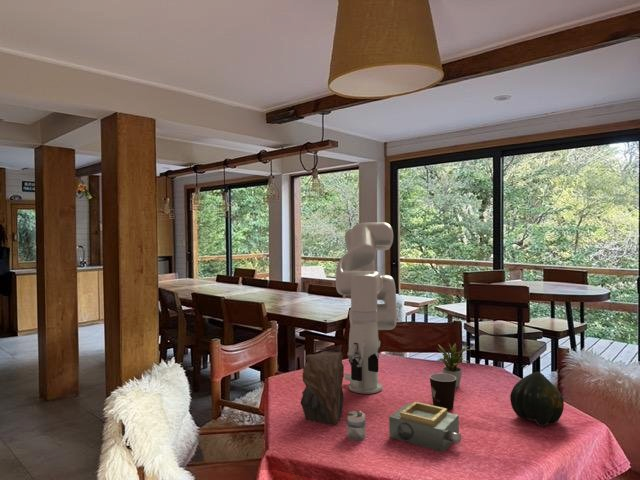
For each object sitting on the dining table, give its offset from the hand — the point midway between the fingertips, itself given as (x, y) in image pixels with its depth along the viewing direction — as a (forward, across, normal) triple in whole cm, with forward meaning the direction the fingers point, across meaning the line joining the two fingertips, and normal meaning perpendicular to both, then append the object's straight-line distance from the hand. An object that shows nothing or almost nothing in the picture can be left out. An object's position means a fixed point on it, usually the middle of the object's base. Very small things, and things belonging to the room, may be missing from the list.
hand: (365, 375), depth 132 cm
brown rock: (+18, -4, -17) cm, 25 cm away
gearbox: (+18, -8, +16) cm, 25 cm away
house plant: (+17, -54, +8) cm, 57 cm away
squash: (+18, -38, +39) cm, 57 cm away
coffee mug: (+17, -34, +11) cm, 40 cm away
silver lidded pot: (+18, +2, -2) cm, 18 cm away
